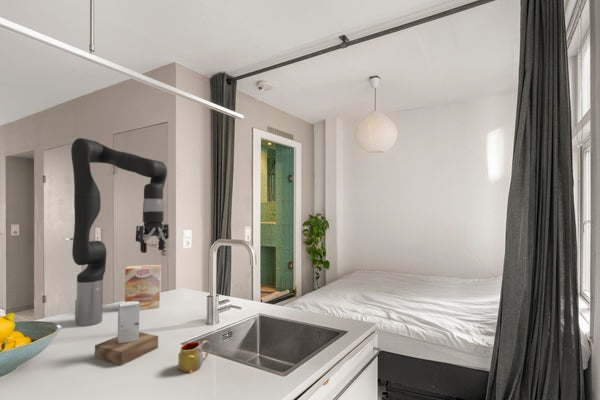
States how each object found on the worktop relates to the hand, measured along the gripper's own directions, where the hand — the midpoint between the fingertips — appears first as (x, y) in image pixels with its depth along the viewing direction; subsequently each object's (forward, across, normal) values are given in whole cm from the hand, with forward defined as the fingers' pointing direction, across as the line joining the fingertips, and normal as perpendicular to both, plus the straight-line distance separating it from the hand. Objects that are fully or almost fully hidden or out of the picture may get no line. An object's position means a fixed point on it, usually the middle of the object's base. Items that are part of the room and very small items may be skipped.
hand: (152, 251), depth 134 cm
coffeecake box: (+30, -18, -25) cm, 43 cm away
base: (+30, +20, +11) cm, 38 cm away
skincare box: (+26, +20, +11) cm, 35 cm away
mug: (+30, +17, +37) cm, 51 cm away
